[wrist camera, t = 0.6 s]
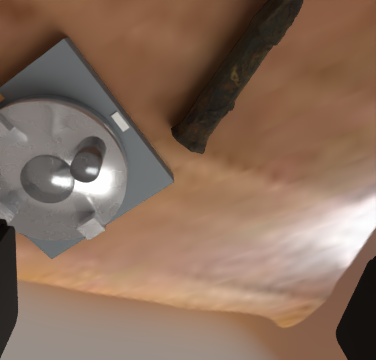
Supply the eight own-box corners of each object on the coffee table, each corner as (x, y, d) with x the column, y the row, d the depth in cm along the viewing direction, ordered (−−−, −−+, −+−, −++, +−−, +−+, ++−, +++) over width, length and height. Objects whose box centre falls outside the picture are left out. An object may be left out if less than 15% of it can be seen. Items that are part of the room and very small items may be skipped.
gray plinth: (-66, 138, 36) (-96, 157, 32) (68, 36, 33) (55, 41, 29) (55, 248, 44) (45, 276, 39) (173, 174, 41) (176, 194, 36)
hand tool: (196, 147, 40) (202, 163, 36) (168, 128, 38) (171, 143, 34) (311, -1, 34) (334, -3, 30) (283, -30, 33) (303, -35, 29)
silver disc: (-54, 149, 34) (-107, 186, 27) (62, 63, 32) (37, 78, 25) (52, 246, 41) (31, 296, 34) (155, 180, 38) (157, 219, 31)
